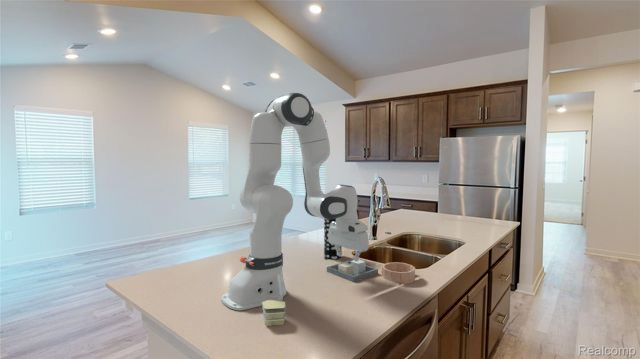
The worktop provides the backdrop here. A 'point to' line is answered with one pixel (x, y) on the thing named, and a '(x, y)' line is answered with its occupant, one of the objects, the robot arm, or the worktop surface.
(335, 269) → the parts tray
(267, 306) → the pale green layered block
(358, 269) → the pale blue cube
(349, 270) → the cream small cube
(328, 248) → the spotted tube
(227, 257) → the worktop surface
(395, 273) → the terracotta bowl
